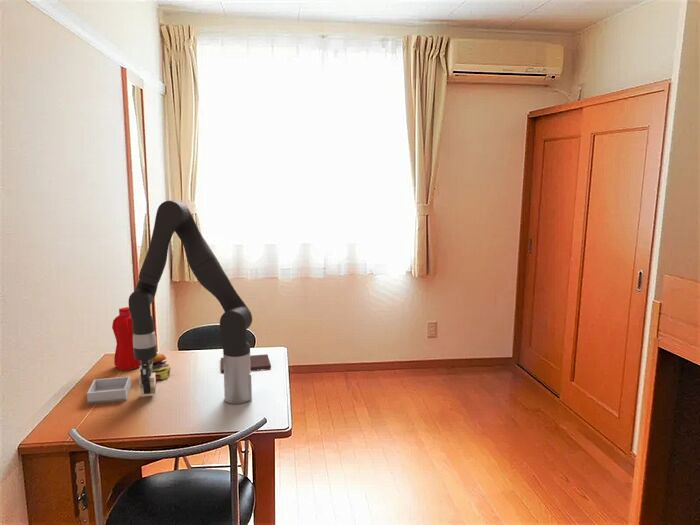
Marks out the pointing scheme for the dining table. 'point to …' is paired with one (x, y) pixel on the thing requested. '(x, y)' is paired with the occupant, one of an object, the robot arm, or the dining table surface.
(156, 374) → the cheeseburger
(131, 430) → the dining table surface
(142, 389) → the birch block
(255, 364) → the notebook
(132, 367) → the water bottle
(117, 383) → the grey bin
